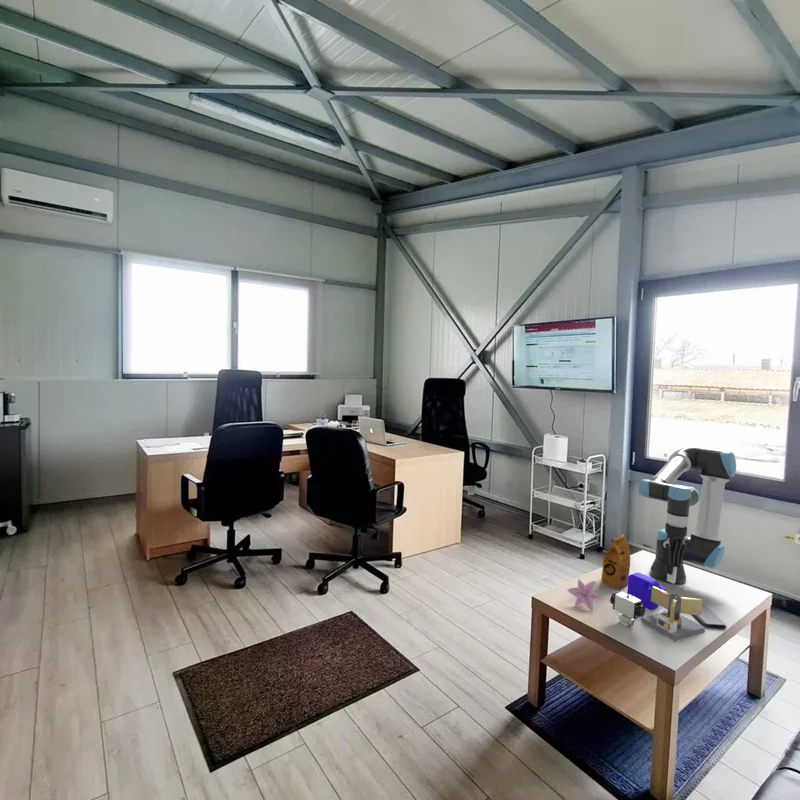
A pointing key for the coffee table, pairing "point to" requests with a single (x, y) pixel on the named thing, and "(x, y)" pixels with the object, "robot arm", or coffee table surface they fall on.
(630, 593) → the bracket
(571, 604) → the coffee table surface
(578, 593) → the lily
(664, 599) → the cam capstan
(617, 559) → the coffee package
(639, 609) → the pneumatic valve
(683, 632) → the level stand
